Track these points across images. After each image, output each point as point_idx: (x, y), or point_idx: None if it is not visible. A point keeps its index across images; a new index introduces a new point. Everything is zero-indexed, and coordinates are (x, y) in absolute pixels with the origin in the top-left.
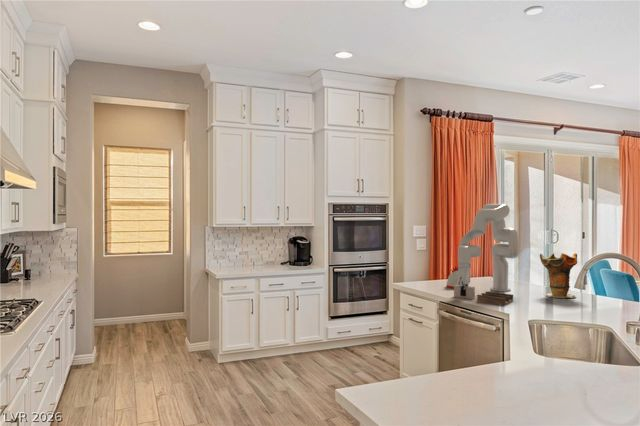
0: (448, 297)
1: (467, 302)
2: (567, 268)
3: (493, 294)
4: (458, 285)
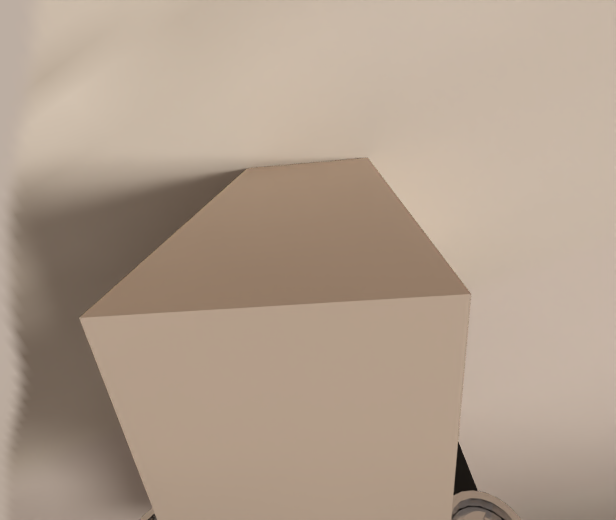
0: (53, 114)
1: (19, 515)
2: None
3: None
4: (343, 495)
